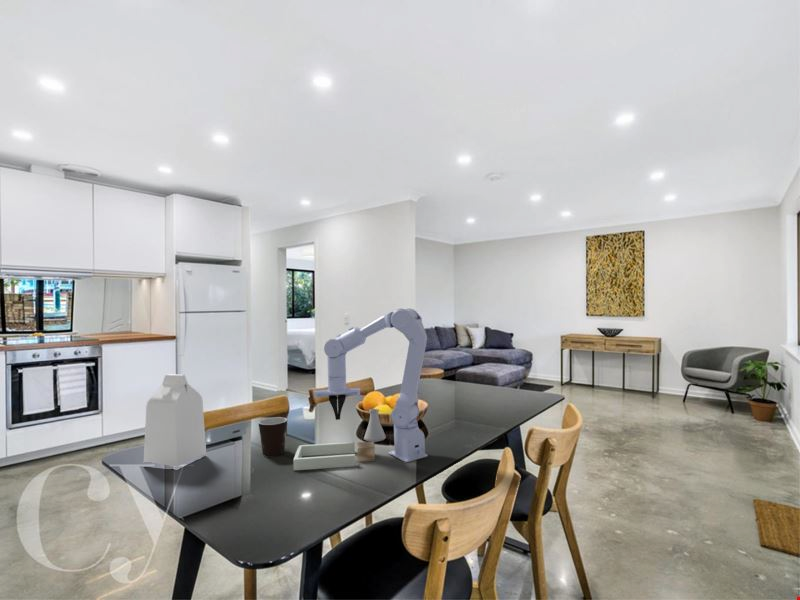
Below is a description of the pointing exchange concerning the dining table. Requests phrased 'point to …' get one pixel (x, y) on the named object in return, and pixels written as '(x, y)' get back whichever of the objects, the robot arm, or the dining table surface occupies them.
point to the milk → (174, 423)
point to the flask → (374, 428)
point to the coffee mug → (273, 435)
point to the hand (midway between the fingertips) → (337, 418)
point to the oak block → (366, 451)
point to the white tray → (324, 460)
